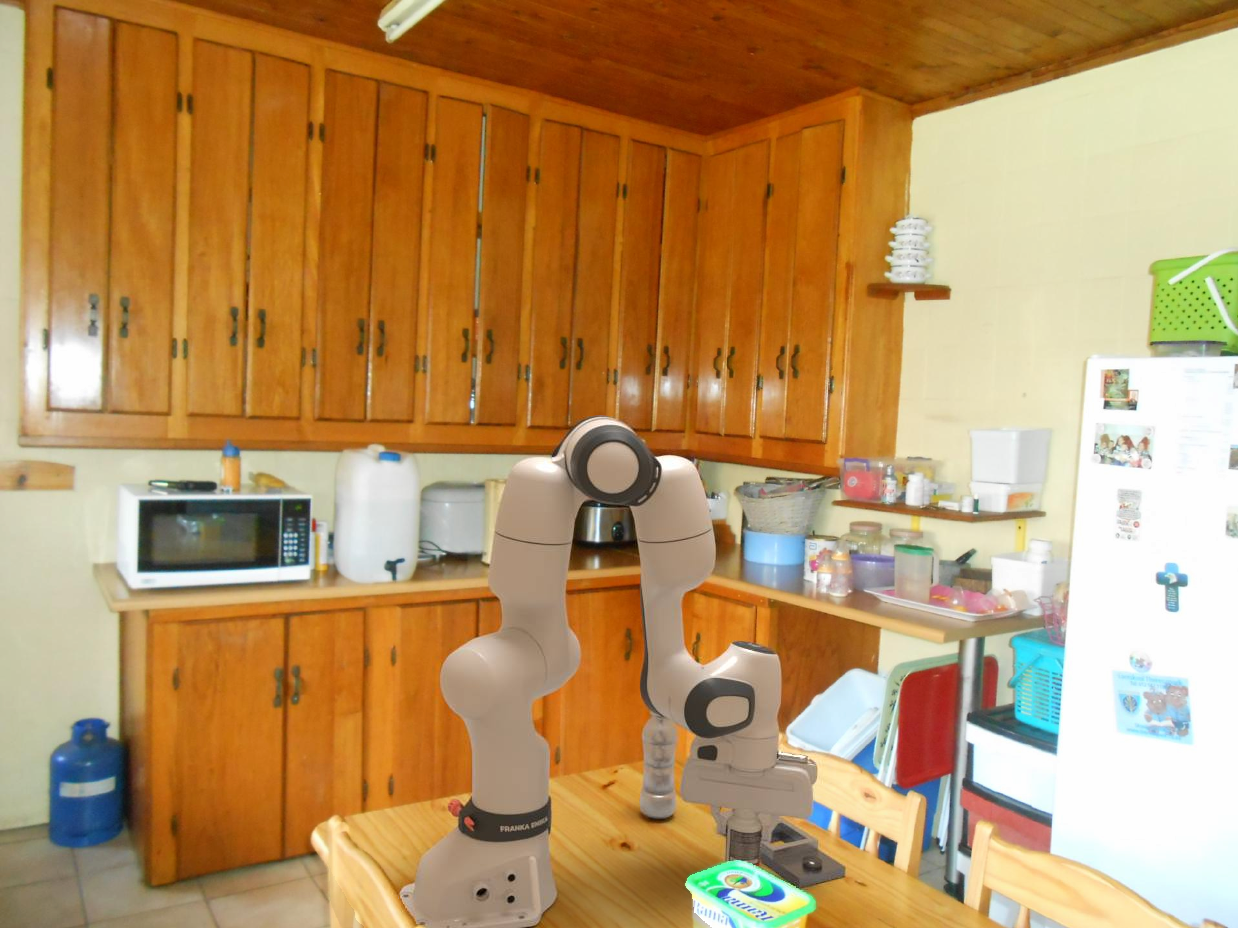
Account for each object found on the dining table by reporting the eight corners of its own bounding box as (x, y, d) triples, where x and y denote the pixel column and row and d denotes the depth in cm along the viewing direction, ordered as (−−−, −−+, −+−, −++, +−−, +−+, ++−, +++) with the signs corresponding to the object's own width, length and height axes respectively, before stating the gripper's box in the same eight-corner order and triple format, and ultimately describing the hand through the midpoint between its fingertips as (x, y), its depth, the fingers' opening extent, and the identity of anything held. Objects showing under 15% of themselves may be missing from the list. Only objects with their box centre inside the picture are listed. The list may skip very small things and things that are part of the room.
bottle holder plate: (799, 888, 141) (800, 863, 140) (716, 829, 160) (717, 807, 160) (845, 876, 145) (846, 852, 145) (759, 820, 164) (760, 799, 164)
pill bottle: (767, 871, 142) (770, 808, 142) (737, 877, 140) (740, 813, 140) (747, 856, 147) (750, 795, 147) (718, 861, 145) (721, 799, 145)
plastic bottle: (682, 813, 166) (686, 702, 165) (663, 827, 160) (668, 711, 159) (651, 804, 169) (655, 695, 169) (631, 817, 164) (635, 704, 163)
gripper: (818, 749, 143) (813, 837, 144) (687, 732, 148) (682, 818, 149) (817, 764, 137) (812, 856, 138) (680, 746, 142) (675, 834, 143)
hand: (743, 836), depth 144 cm, fingers closed on pill bottle, 5 cm apart
